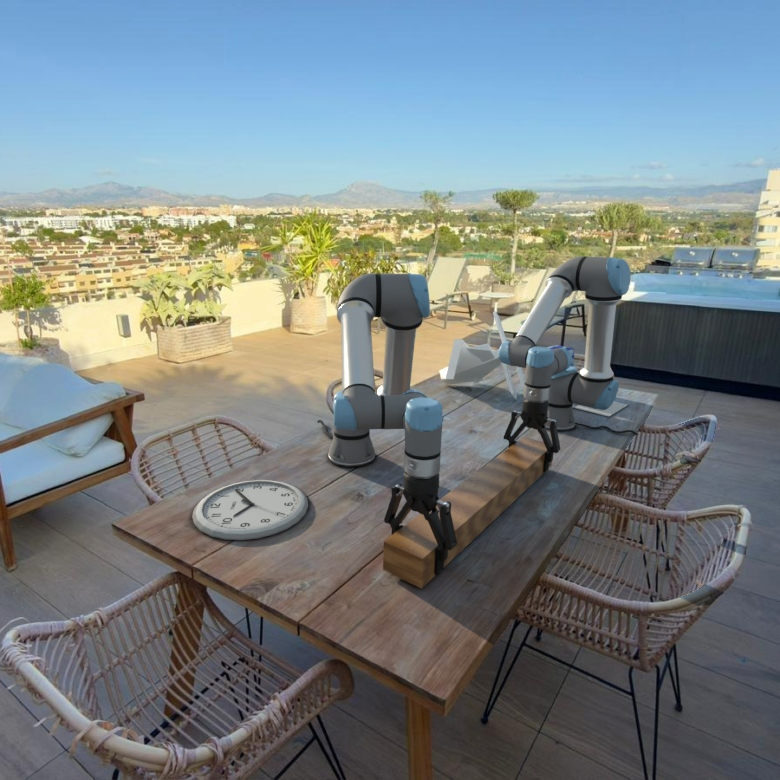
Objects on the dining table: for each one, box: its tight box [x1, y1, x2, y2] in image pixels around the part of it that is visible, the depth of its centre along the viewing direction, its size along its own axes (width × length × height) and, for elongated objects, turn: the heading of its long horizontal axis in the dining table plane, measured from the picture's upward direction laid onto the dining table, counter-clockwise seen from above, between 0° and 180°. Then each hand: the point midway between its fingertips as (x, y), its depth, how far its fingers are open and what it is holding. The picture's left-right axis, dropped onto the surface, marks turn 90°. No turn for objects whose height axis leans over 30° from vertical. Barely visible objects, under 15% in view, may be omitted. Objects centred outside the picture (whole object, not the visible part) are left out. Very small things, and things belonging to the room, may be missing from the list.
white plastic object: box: [438, 310, 525, 400], centre depth 245 cm, size 37×45×31 cm
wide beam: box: [382, 436, 553, 589], centre depth 139 cm, size 75×10×7 cm, turn 143°
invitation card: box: [573, 400, 629, 418], centre depth 226 cm, size 21×1×15 cm
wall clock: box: [191, 479, 309, 541], centre depth 140 cm, size 30×2×30 cm
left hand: (418, 561), depth 116 cm, fingers closed on wide beam, 10 cm apart
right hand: (528, 465), depth 164 cm, fingers closed on wide beam, 10 cm apart
